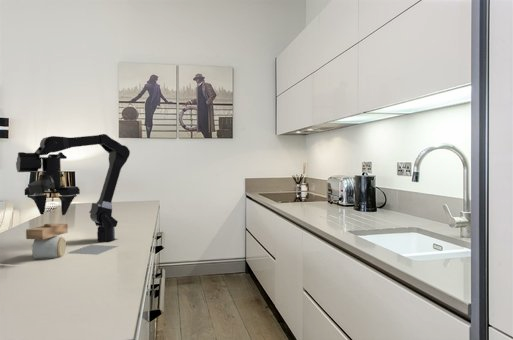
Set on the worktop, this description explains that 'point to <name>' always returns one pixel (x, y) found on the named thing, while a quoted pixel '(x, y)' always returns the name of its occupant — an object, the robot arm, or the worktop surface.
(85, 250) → the mat
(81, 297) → the worktop surface
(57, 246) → the ceramic mug
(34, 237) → the lid
